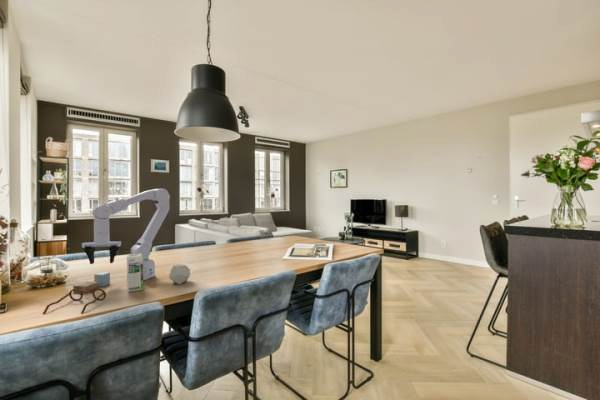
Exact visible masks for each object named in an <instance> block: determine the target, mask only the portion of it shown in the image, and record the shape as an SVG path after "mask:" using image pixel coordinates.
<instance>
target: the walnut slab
mask: <svg viewBox="0 0 600 400" xmlns="http://www.w3.org/2000/svg"><path fill="white" fill-rule="evenodd" d="M99 287H100V286H99V282H94V281H89V280H88V281H84V282H80V283H77V284H75V285H74V284H73V285H72V290H73V289H79V290H81V291H82V292H84V291H91V292H93V291H94V290H95V289H100V288H99ZM72 292H73V293H78V294H80V292H78V291H72Z"/></svg>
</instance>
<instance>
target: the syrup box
mask: <svg viewBox="0 0 600 400" xmlns="http://www.w3.org/2000/svg"><path fill="white" fill-rule="evenodd" d="M126 255H127V256H126V281H127V283H126V284H127V285H126V287H127V288H126V289H127V293H130V292H135V291H136V292H137V291H143V290H144V280H143V255H142V254H134V255H132V254H126Z"/></svg>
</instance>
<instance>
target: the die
mask: <svg viewBox="0 0 600 400" xmlns="http://www.w3.org/2000/svg"><path fill="white" fill-rule="evenodd" d="M190 275H191V269H190V268H189V267H188V266H187V265H186V264H183V263H178V264H176V265H173V266H172V267H171V269H170V272H169V275H168V279H170V281H172V282H174V284H177V285H182V284H183V283H185V282H187V281H188V280H189V279H190V277H191V276H190Z"/></svg>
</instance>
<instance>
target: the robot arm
mask: <svg viewBox="0 0 600 400" xmlns="http://www.w3.org/2000/svg"><path fill="white" fill-rule="evenodd" d="M170 198H171V196H170V194H169V191H168V190H167V189H166V188H153V189H149V190H145V191H142V192H140V193H138V194H134V195H132V196H129V197H127V198H123V197H115V198H114V199H113V200H111V201H108V202H106V201H105V202H103V204H102V205H101V204H99V205H96V206H95V207H94V208H93V210H92V211H91V214H92V215H93V241H92V242H82V243H81V248H84V249H83V252H84V253H85V254H86V256H87V258H88V260H89V264H90V265H93V264H94V263H95V251H96V250H95V249H96V248H103V247H105V248H106V247H108V252H109V263H110V264H113V263H114V261H115V257H116V255H117V252H118V250H119V248H120V247H121V246H122V241H111V238H110V235H111V234H110V216H111V215H115V214H119V213H121V212H123V211H125V210H127V209H128V208H129V206H130V205H133V204H136V203H139V202H141V201H142V202H143V201H145V200H151V201H152V202H153V203H154V205H155V206H156V211H155V212H154V214H153V216H152V218H151V219H150V221H149V223H148V225H147V227H146V228H145V231H144V232H143V233H142V236H141V237H140V238H139V239H138V240H137V241H136V243H135V244H134V245H132V247H131V248H130V255H134V254H142V255H143V281H147V280H148V279H152V278H154V277H156V276H157V275H156V273H155V272H156V265H155V260H153V259H151V258H150V255H151V249H152V247H153V241H154V239H155V237H156V235H157V234H158V231H159V230H160V228H161V226H162V224H163V222H164V221H165V219H166V217H167V215H168V213H169V211H170V209H171V208H170Z"/></svg>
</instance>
